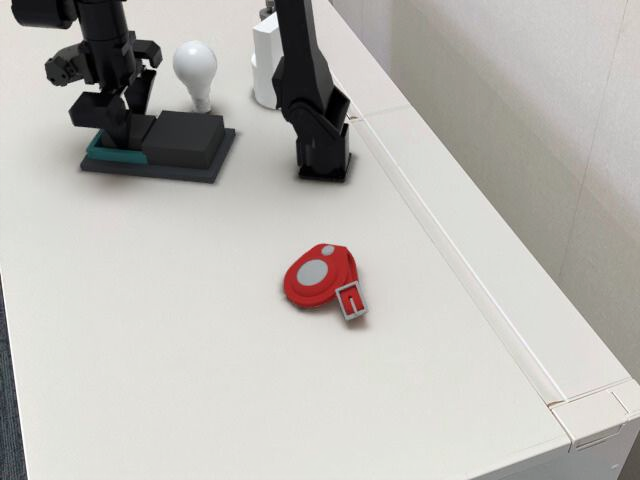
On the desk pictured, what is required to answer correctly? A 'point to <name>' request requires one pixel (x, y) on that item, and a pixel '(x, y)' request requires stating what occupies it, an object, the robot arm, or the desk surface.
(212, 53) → the lightbulb
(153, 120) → the black block
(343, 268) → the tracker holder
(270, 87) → the base with upright slab
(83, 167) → the black teal stepped tray
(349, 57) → the desk surface
